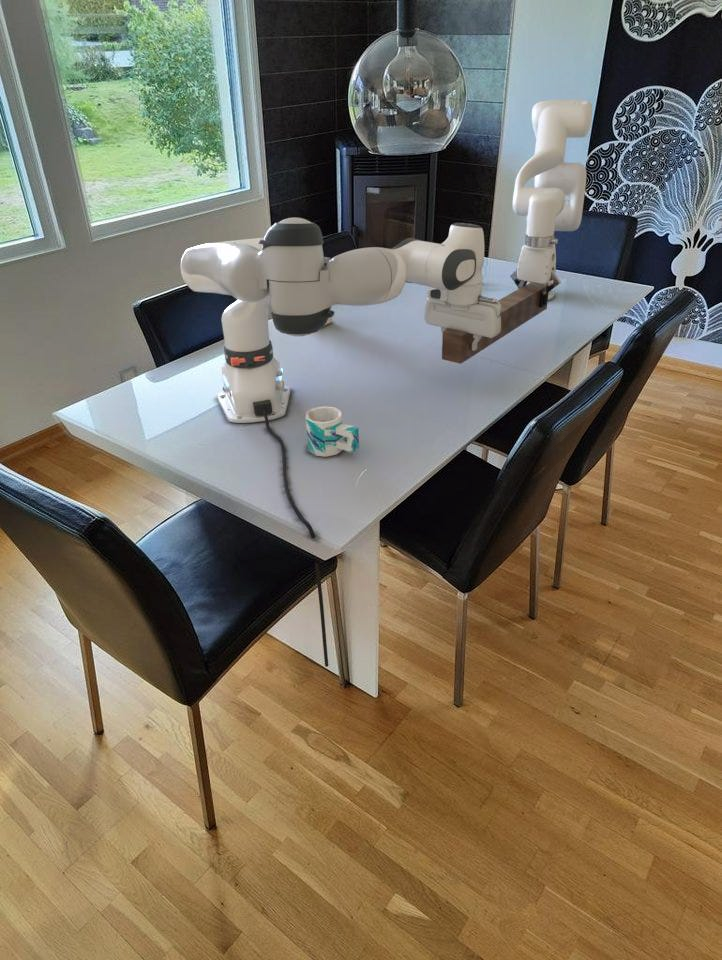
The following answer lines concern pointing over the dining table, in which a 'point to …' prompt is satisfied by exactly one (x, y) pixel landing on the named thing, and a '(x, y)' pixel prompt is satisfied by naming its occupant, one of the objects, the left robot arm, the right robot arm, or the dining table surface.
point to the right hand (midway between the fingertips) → (532, 303)
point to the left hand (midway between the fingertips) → (460, 346)
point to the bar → (513, 315)
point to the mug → (329, 432)
